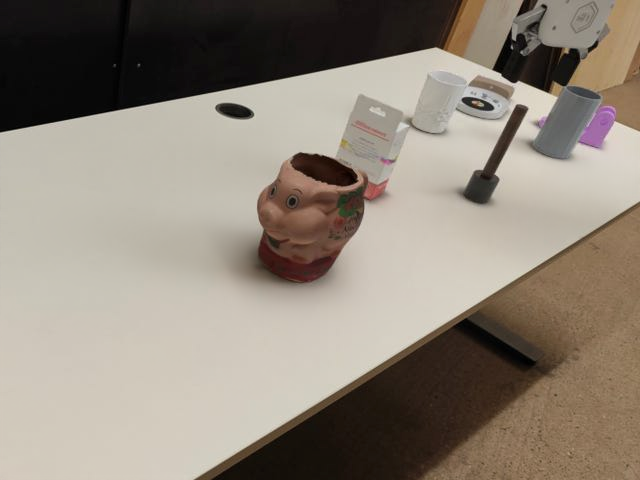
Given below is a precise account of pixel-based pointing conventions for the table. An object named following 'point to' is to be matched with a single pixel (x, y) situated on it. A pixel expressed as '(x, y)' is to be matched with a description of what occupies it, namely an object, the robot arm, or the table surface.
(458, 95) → the white cup
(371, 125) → the ink cartridge box
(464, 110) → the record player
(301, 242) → the decorative planter
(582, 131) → the grey cylindrical holder
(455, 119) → the table surface
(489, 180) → the brush
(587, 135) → the bracket
